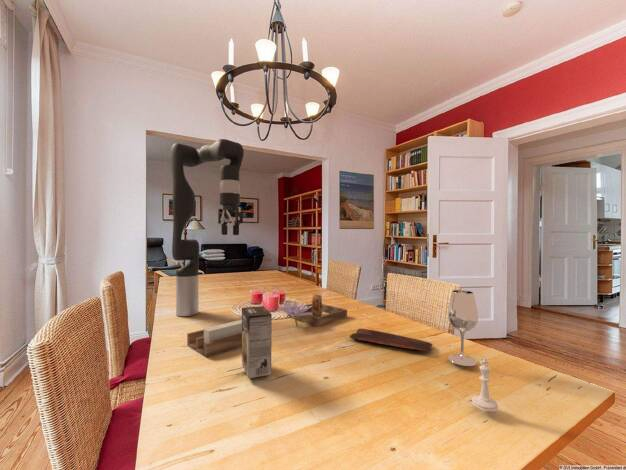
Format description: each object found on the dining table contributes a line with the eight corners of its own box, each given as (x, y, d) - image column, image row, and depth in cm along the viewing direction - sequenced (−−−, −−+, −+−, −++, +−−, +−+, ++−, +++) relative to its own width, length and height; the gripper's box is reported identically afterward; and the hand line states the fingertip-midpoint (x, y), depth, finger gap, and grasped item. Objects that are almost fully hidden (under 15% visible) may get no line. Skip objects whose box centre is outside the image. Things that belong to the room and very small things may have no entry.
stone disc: (319, 321, 124) (319, 297, 124) (310, 321, 125) (310, 297, 125) (323, 314, 135) (323, 292, 135) (315, 314, 135) (315, 292, 135)
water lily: (319, 322, 123) (319, 300, 123) (306, 334, 109) (306, 309, 109) (286, 319, 128) (286, 298, 128) (270, 329, 114) (270, 306, 114)
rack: (187, 345, 98) (187, 333, 98) (240, 331, 112) (240, 320, 112) (206, 357, 88) (206, 344, 88) (262, 340, 103) (262, 328, 103)
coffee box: (241, 364, 84) (241, 307, 84) (263, 360, 86) (263, 305, 86) (247, 379, 76) (247, 315, 75) (272, 374, 78) (272, 313, 78)
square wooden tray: (287, 317, 130) (287, 309, 130) (316, 309, 143) (316, 302, 143) (318, 327, 117) (318, 318, 117) (347, 317, 130) (347, 309, 130)
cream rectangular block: (203, 347, 94) (203, 328, 93) (247, 335, 105) (247, 318, 105) (209, 350, 91) (209, 331, 91) (253, 337, 102) (253, 320, 102)
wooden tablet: (434, 339, 99) (429, 346, 90) (433, 346, 99) (429, 353, 90) (358, 327, 112) (348, 332, 104) (358, 333, 112) (347, 338, 103)
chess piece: (467, 398, 67) (467, 354, 67) (488, 398, 67) (488, 353, 67) (480, 412, 62) (481, 363, 62) (503, 411, 62) (503, 363, 62)
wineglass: (474, 357, 89) (475, 290, 89) (480, 368, 82) (480, 295, 81) (446, 353, 91) (446, 288, 91) (448, 364, 84) (449, 293, 84)
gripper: (211, 193, 117) (212, 235, 117) (230, 190, 107) (230, 235, 108) (229, 195, 123) (229, 234, 123) (248, 192, 113) (248, 235, 113)
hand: (230, 235), depth 115 cm, fingers open, 8 cm apart
